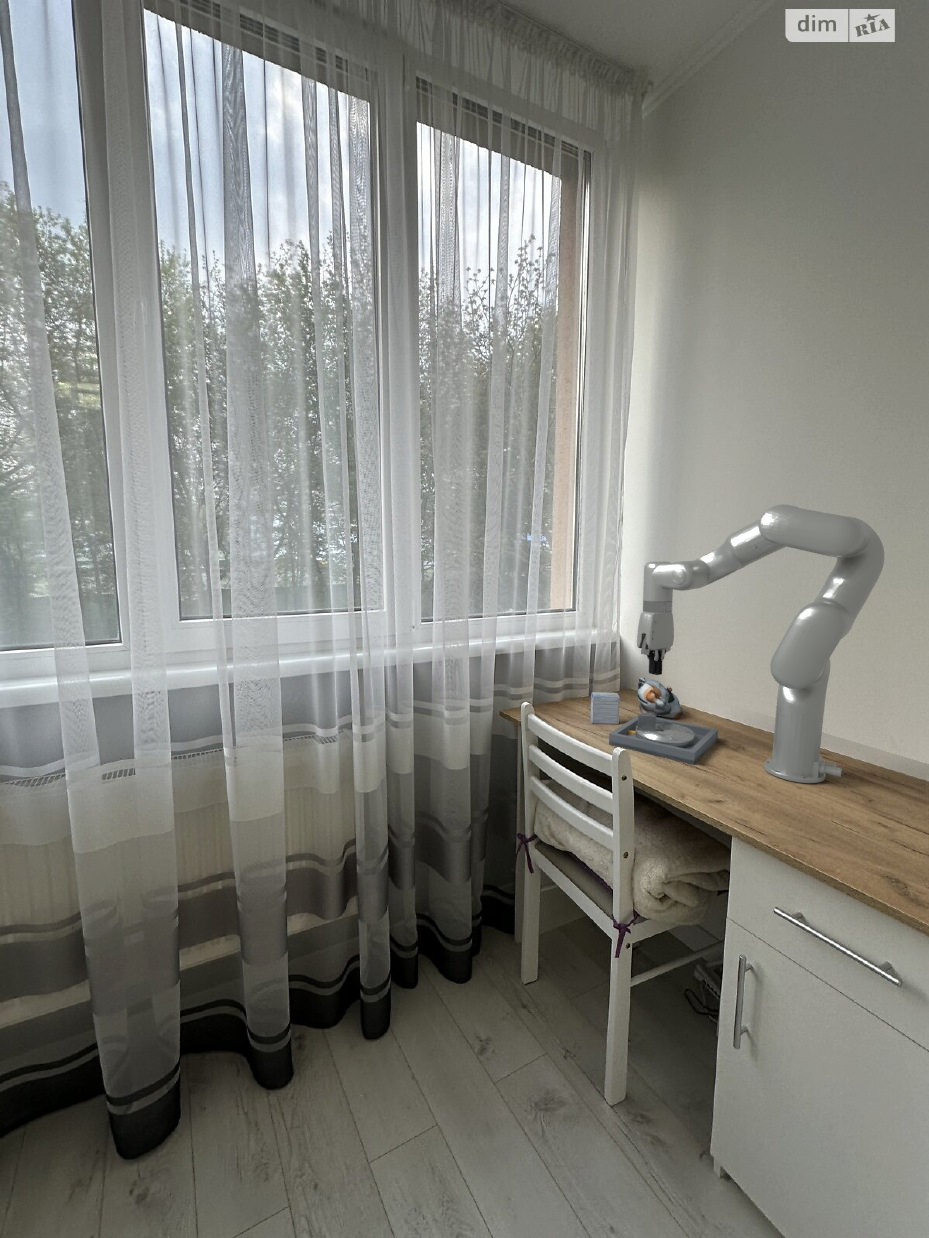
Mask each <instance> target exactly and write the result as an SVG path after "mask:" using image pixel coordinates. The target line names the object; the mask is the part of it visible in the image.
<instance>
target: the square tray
mask: <svg viewBox="0 0 929 1238" xmlns="http://www.w3.org/2000/svg"><path fill="white" fill-rule="evenodd" d="M656 722H667V723H673V724H678V725H681V726H684V727H687V728H689V729H691V730H692V731H693V732H694V743H693V744H692V745H690V746H687V747H681V748H679V747H675V746H671V745H666V744H662V743H657V742H653V741H648V740H644V739H639V738H637V737H636V735H635V733H636V726H637V725H638V715H636V716H634V717H633V718H631V719H630V720H629V721H626V722H625V723H623V724H622V725H621V726H619V727H618V728H616V729H615V730H613V731H612V732H610V733H609V735H608V737H609V738H608V745H610V746H614V747H618V748H622V747H623V748H622V749H627V750H630V751H634V752H635V751H636V752H638V753H639V752H640V753H642V754H648V755H653V756H655V757H659V758H664V759H669V760H672V761H677V762H680V763H685V764H688V765H693V766H694V765H695V764H696V763H698V761H699V760H700V759H701V758H702V757H703V756H704V755H705V754H706V753H707V752H708V751H709V750H710V748H712V747H713V746H714V744H716V743H717V742H718V740H719V729H716V728H712V727H707V726H702V725H697V724H692V723H687V722H684V721H677V720H671V719H666V718H663V717H657V716H656Z"/></svg>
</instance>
